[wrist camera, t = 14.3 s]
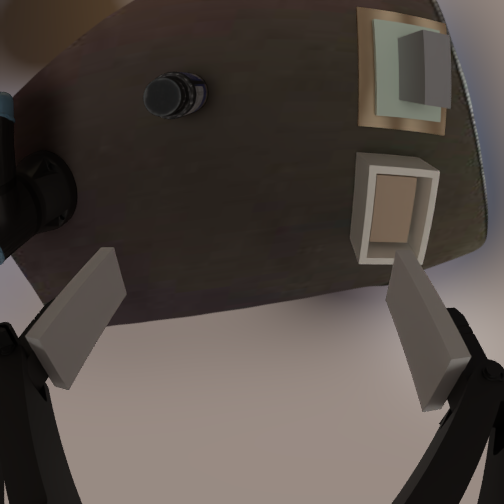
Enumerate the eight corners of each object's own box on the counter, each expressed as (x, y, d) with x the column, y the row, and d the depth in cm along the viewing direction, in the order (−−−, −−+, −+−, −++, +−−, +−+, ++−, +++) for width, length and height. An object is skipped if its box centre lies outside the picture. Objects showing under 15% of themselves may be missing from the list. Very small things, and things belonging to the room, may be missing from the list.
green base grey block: (372, 114, 40) (398, 123, 31) (370, 21, 34) (394, 4, 24) (434, 120, 39) (471, 133, 30) (433, 32, 33) (470, 22, 23)
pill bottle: (160, 89, 42) (127, 93, 32) (193, 64, 40) (167, 60, 30) (183, 121, 44) (156, 132, 35) (217, 97, 42) (197, 101, 33)
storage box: (349, 238, 51) (358, 264, 44) (356, 152, 44) (369, 165, 37) (406, 239, 50) (422, 264, 43) (418, 157, 43) (439, 171, 36)
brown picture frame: (357, 125, 42) (358, 125, 42) (355, 7, 33) (356, 6, 33) (442, 135, 41) (444, 135, 40) (444, 24, 32) (445, 24, 31)
